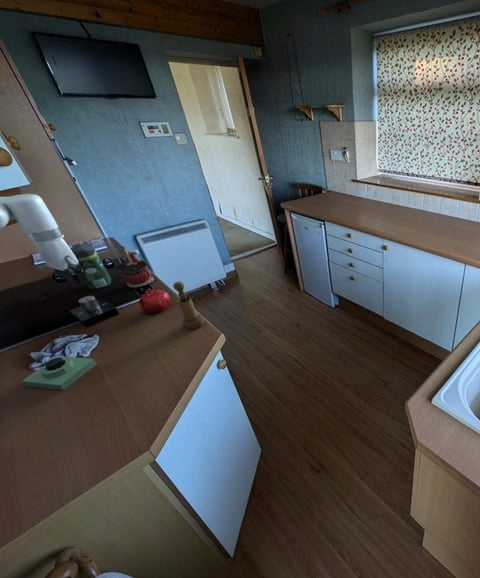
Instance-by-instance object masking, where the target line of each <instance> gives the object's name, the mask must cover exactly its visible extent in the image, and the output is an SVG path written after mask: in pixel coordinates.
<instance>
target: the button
mask: <svg viewBox="0 0 480 578" xmlns="http://www.w3.org/2000/svg"><path fill="white" fill-rule="evenodd" d="M64 364H65V362H64V361H63V359H62V358H56V357H54V358H51V359H49V360H48V361H46V362H45V363H44V365H43V366H45V367H46V368H47V369H48V370H49V371H51V370H55V369H58V368H60V367H61V366H63V365H64Z"/></svg>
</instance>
